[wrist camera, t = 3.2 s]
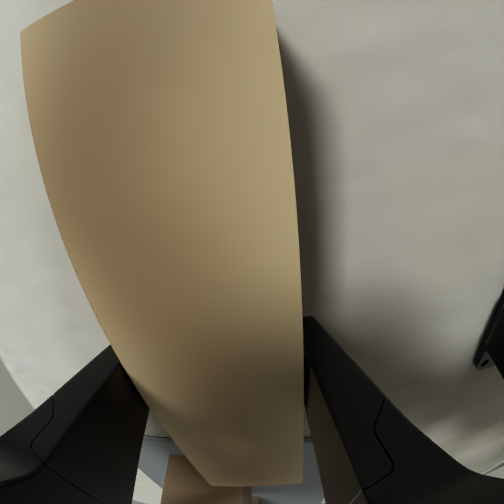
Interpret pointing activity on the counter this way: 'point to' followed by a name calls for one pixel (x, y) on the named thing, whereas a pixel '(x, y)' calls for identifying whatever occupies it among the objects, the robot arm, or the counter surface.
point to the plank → (181, 214)
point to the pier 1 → (197, 486)
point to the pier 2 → (255, 500)
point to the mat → (271, 497)
